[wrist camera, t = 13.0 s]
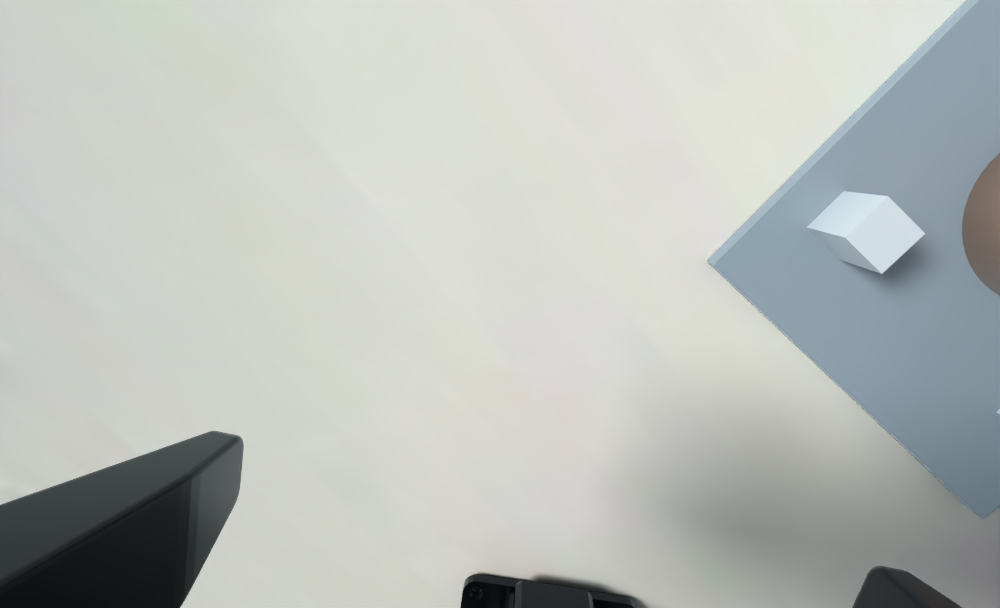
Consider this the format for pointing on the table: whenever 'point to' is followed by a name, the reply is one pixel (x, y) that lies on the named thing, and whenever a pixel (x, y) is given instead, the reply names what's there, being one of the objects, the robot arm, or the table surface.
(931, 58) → the plate
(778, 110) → the table surface
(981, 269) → the tan bottle
